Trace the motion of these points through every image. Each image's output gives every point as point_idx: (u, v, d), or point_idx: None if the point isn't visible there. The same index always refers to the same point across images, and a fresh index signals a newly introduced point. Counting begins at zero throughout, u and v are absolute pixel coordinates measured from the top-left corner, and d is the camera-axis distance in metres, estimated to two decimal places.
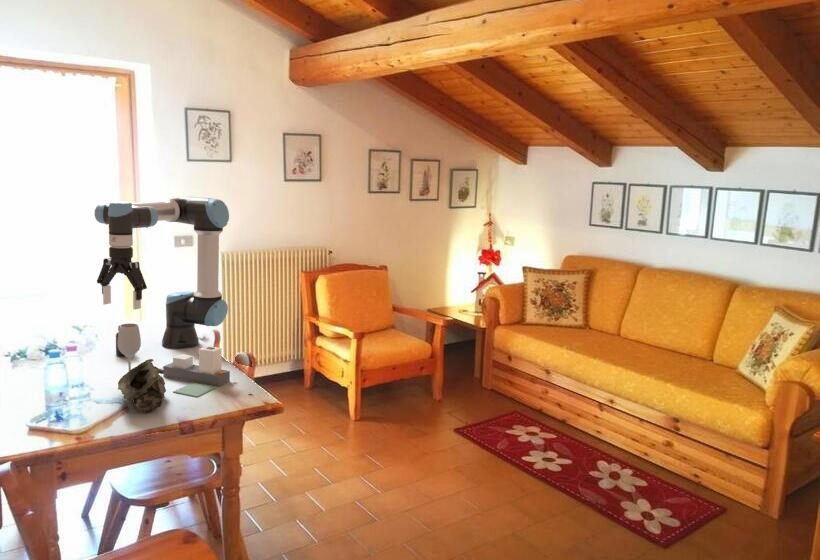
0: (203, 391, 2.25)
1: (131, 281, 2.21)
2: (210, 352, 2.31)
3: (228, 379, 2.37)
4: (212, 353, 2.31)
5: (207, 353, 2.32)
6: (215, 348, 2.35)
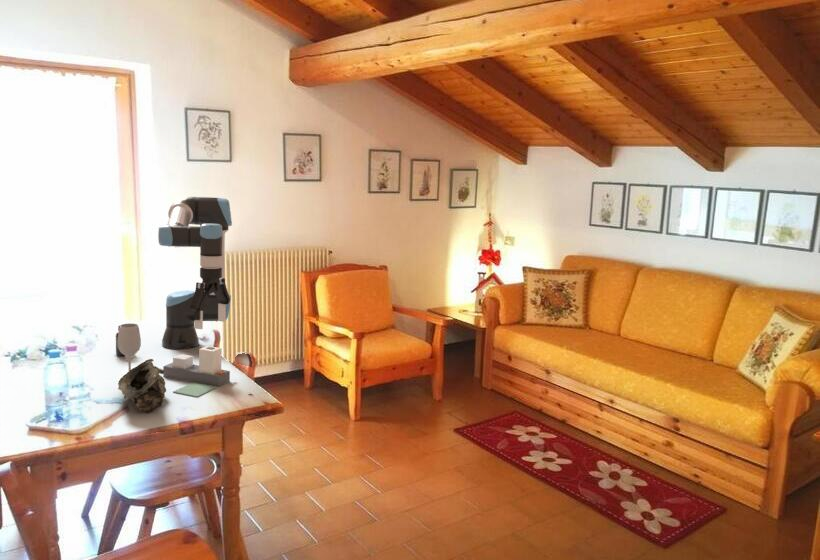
0: (203, 391, 2.25)
1: None
2: (210, 352, 2.31)
3: (228, 379, 2.37)
4: (212, 353, 2.31)
5: (207, 353, 2.32)
6: (215, 348, 2.35)
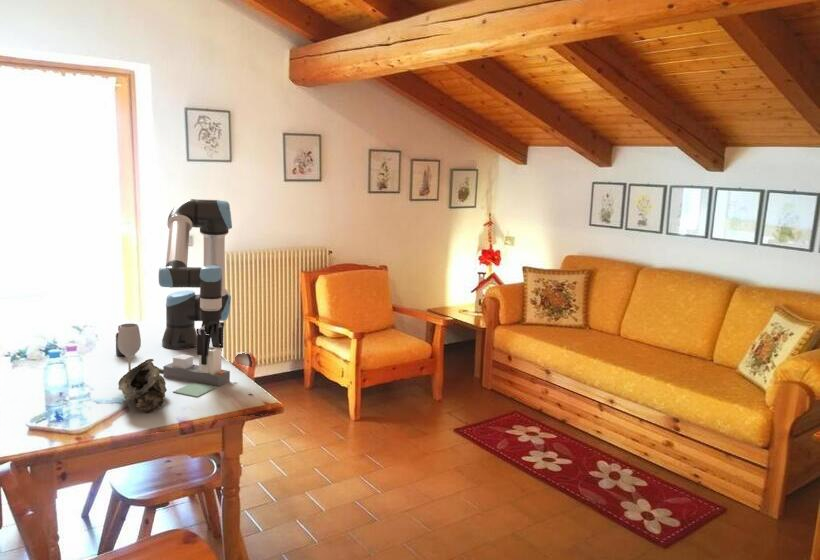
0: (203, 391, 2.25)
1: None
2: (210, 352, 2.31)
3: (228, 379, 2.37)
4: (212, 353, 2.31)
5: None
6: (215, 348, 2.35)
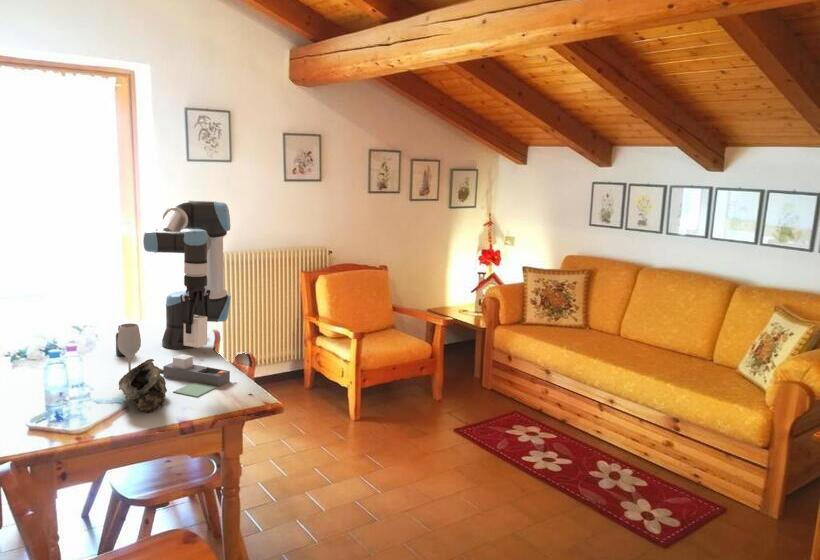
0: (203, 391, 2.25)
1: None
2: (195, 320, 2.19)
3: (228, 379, 2.37)
4: (197, 321, 2.19)
5: None
6: (200, 316, 2.23)
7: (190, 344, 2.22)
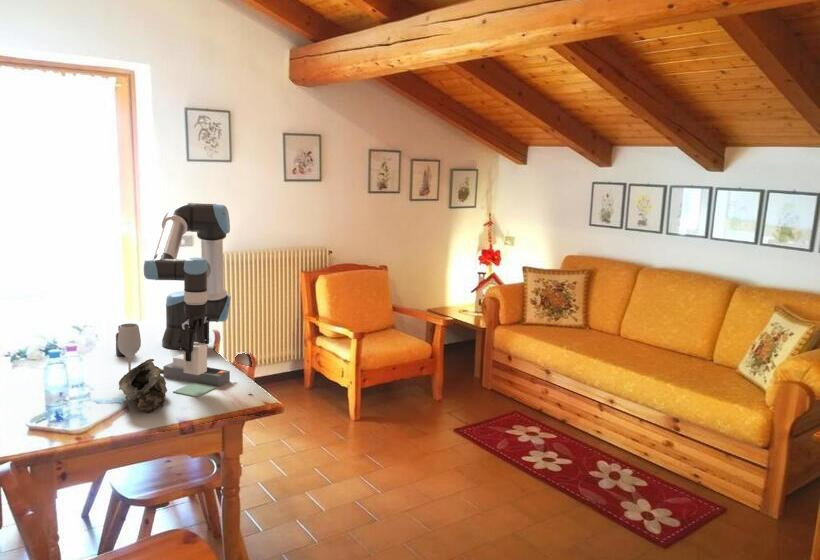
0: (203, 391, 2.25)
1: None
2: (195, 348, 2.21)
3: (228, 379, 2.37)
4: (197, 349, 2.21)
5: None
6: (200, 344, 2.24)
7: (190, 371, 2.23)
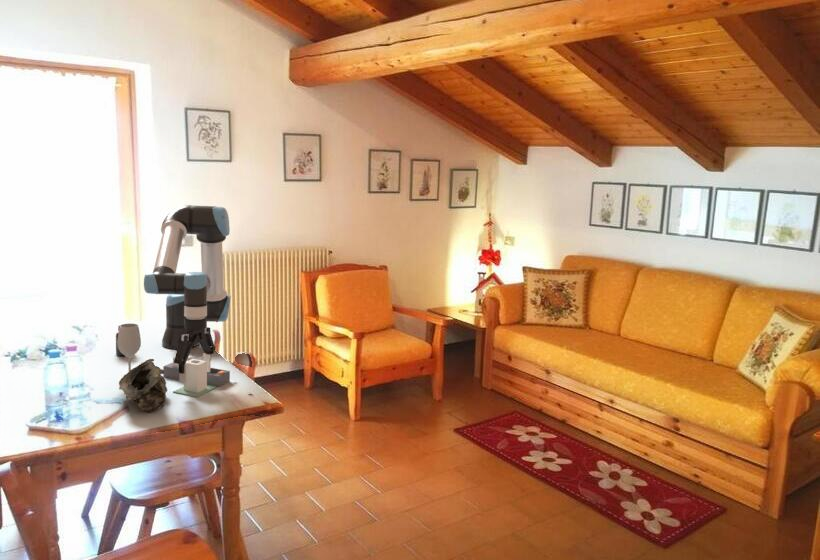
0: (203, 391, 2.25)
1: None
2: (195, 366, 2.22)
3: (228, 379, 2.37)
4: (197, 367, 2.22)
5: (191, 367, 2.23)
6: (200, 361, 2.26)
7: (190, 389, 2.24)
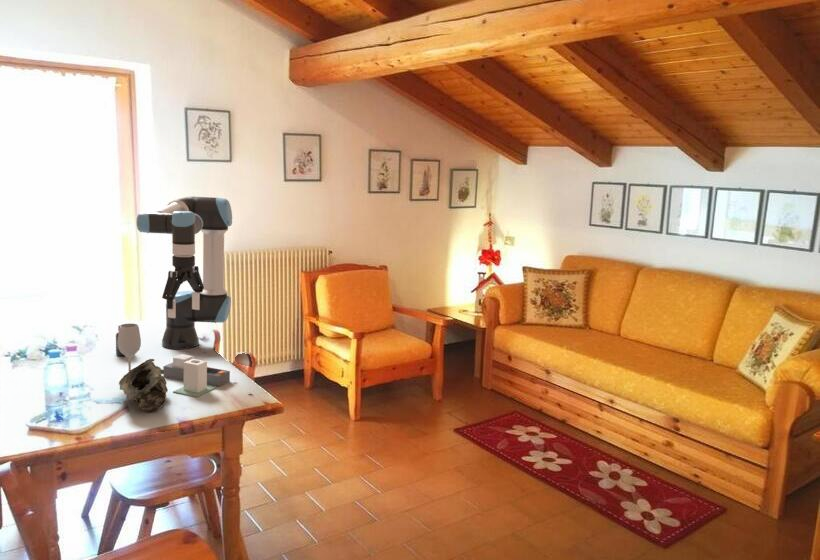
0: (203, 391, 2.25)
1: None
2: (195, 366, 2.22)
3: (228, 379, 2.37)
4: (197, 367, 2.22)
5: (191, 367, 2.23)
6: (200, 361, 2.26)
7: (190, 389, 2.24)
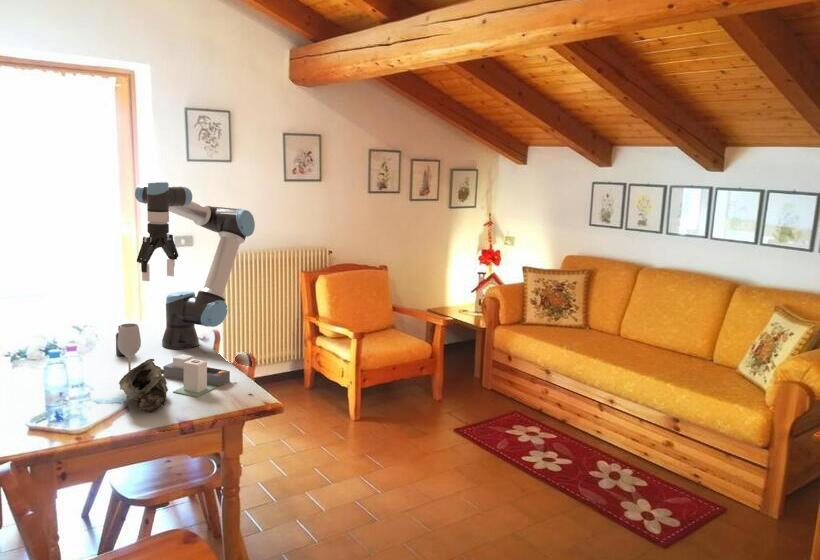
0: (203, 391, 2.25)
1: None
2: (195, 366, 2.22)
3: (228, 379, 2.37)
4: (197, 367, 2.22)
5: (191, 367, 2.23)
6: (200, 361, 2.26)
7: (190, 389, 2.24)
